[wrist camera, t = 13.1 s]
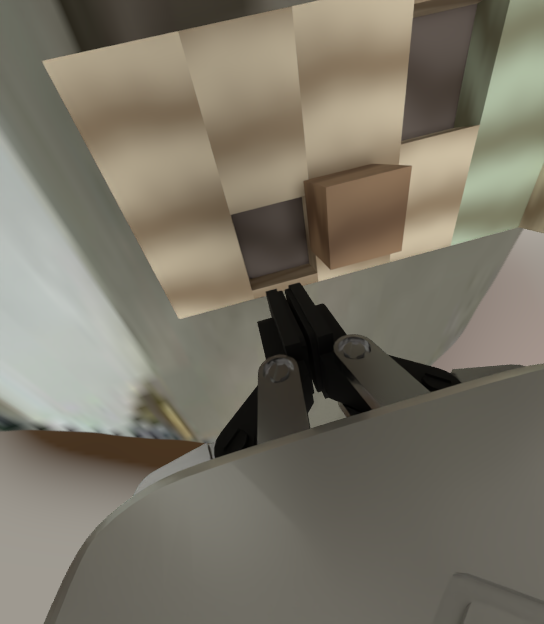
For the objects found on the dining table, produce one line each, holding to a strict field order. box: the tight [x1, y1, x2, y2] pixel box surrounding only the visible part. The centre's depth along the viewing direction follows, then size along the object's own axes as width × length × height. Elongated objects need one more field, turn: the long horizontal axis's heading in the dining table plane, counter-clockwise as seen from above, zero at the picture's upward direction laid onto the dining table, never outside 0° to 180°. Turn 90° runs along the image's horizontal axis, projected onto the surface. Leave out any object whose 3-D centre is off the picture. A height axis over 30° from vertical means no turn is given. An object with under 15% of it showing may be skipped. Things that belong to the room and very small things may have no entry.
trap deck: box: [42, 0, 544, 319], centre depth 20 cm, size 19×39×6 cm, turn 101°
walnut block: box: [303, 164, 412, 270], centre depth 19 cm, size 6×6×5 cm
